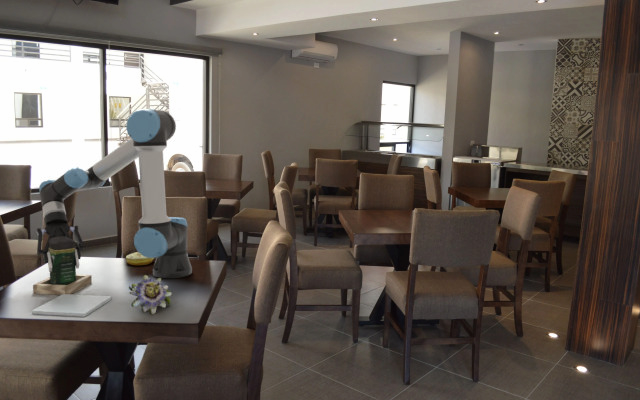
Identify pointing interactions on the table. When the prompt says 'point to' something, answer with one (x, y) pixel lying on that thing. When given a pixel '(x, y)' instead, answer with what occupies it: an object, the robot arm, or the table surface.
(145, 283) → the passion flower
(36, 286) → the holder collar
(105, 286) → the table surface
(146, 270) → the table surface
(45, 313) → the ceramic tile
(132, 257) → the decorated donut
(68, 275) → the coffee jar
